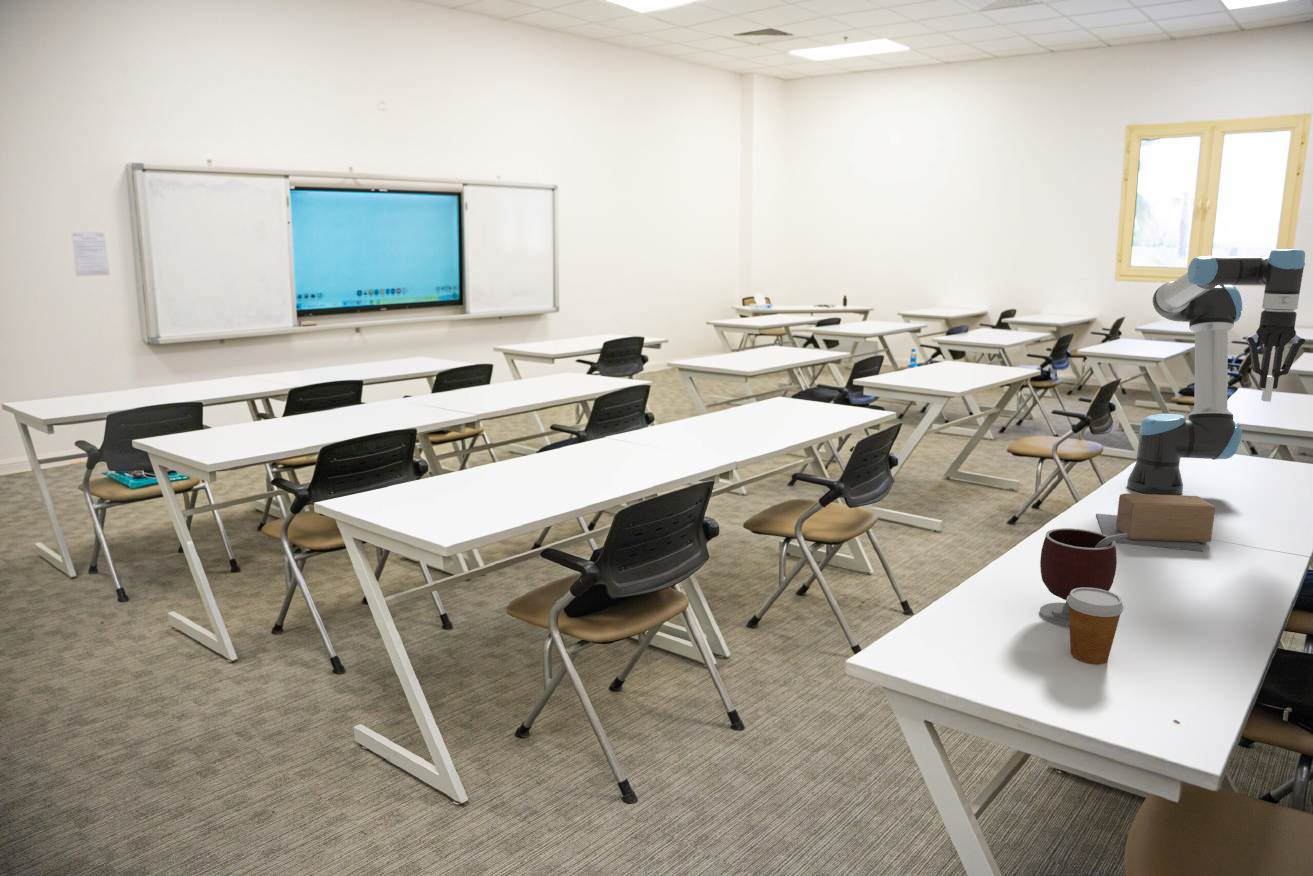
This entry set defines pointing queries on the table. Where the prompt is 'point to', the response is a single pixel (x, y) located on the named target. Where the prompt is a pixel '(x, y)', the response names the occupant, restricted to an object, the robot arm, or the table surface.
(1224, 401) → the robot arm
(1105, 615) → the disposable coffee cup
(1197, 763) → the table surface
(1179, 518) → the wooden block
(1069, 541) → the mate gourd
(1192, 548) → the mat
